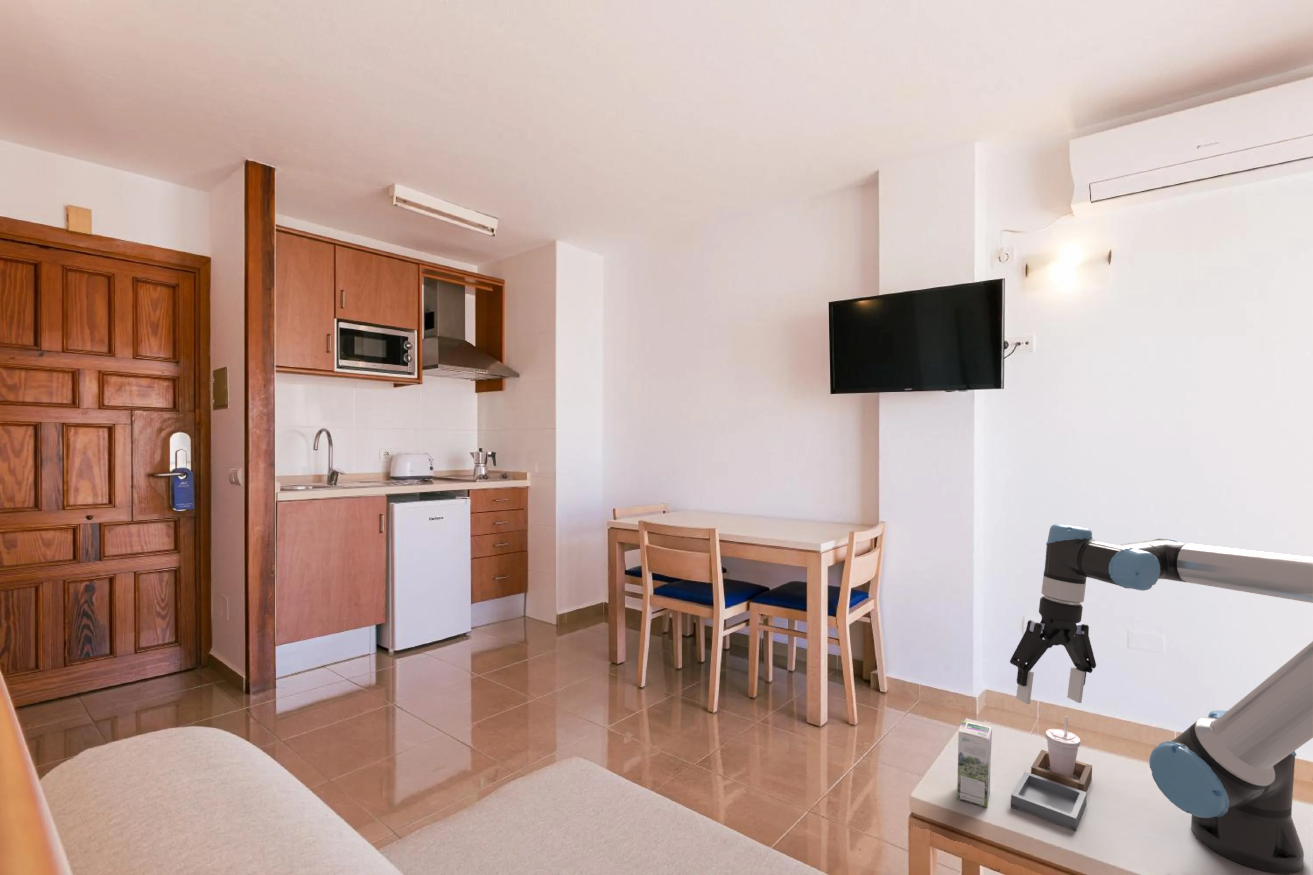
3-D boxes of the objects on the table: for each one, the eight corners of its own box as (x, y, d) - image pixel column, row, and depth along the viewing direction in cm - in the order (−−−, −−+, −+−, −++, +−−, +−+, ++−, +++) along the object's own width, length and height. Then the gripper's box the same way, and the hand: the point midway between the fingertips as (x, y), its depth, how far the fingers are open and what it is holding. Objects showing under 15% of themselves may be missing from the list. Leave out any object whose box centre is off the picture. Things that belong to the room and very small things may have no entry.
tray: (1086, 804, 130) (1086, 792, 130) (1075, 831, 122) (1076, 818, 121) (1024, 782, 137) (1025, 771, 137) (1010, 806, 129) (1011, 794, 129)
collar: (1091, 778, 139) (1092, 765, 138) (1083, 798, 132) (1083, 784, 131) (1041, 762, 145) (1041, 749, 145) (1030, 780, 138) (1031, 766, 138)
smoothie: (1084, 790, 134) (1087, 724, 134) (1050, 786, 136) (1052, 721, 135) (1071, 773, 141) (1073, 710, 140) (1039, 769, 142) (1041, 707, 141)
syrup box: (990, 793, 133) (992, 725, 132) (987, 809, 128) (989, 737, 127) (960, 785, 136) (961, 718, 136) (956, 799, 131) (957, 730, 131)
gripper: (1091, 596, 141) (1078, 692, 142) (998, 592, 134) (986, 693, 135) (1124, 606, 134) (1111, 707, 134) (1028, 603, 127) (1015, 709, 127)
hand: (1048, 700), depth 135 cm, fingers open, 13 cm apart
